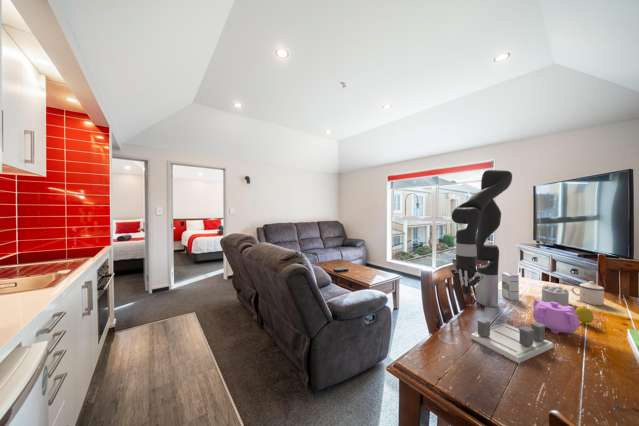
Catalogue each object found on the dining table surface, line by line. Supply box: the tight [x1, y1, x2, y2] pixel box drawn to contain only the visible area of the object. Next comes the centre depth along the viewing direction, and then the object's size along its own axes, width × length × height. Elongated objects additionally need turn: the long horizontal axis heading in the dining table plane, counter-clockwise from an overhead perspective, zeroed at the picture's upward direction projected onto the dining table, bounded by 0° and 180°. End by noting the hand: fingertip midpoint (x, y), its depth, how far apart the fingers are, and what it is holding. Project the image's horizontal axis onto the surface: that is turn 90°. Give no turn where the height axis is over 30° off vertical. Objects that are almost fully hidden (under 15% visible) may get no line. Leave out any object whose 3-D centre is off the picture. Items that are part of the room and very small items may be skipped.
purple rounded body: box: [532, 299, 581, 335], centre depth 98 cm, size 18×17×12 cm
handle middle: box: [518, 325, 534, 347], centre depth 83 cm, size 3×4×6 cm
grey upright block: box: [476, 317, 492, 337], centre depth 90 cm, size 3×4×6 cm
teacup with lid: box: [571, 280, 606, 306], centre depth 127 cm, size 12×9×12 cm
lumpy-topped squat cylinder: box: [541, 284, 570, 306], centre depth 126 cm, size 10×13×9 cm
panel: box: [470, 322, 554, 364], centre depth 88 cm, size 16×22×2 cm
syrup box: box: [501, 272, 520, 301], centre depth 132 cm, size 6×6×14 cm
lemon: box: [574, 305, 594, 325], centre depth 102 cm, size 6×6×8 cm
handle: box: [530, 321, 547, 342], centre depth 86 cm, size 3×4×6 cm
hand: (466, 294), depth 96 cm, fingers closed
